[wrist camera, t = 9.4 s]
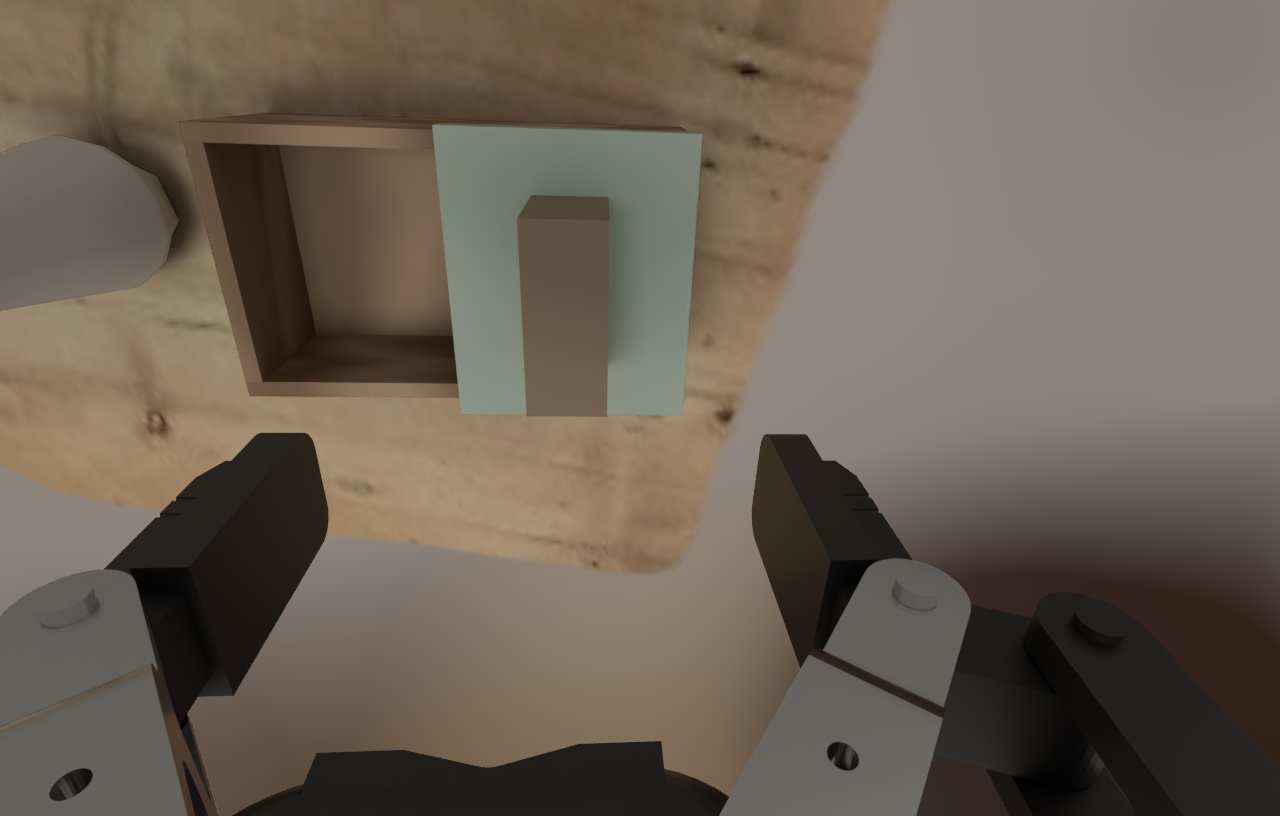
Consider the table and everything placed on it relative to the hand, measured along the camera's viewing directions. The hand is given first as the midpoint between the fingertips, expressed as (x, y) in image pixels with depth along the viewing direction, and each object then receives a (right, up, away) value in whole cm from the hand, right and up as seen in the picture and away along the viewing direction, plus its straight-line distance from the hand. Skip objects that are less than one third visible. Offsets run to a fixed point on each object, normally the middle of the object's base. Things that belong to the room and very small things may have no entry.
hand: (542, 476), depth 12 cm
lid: (-1, +6, +12) cm, 13 cm away
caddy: (-5, +9, +17) cm, 19 cm away
